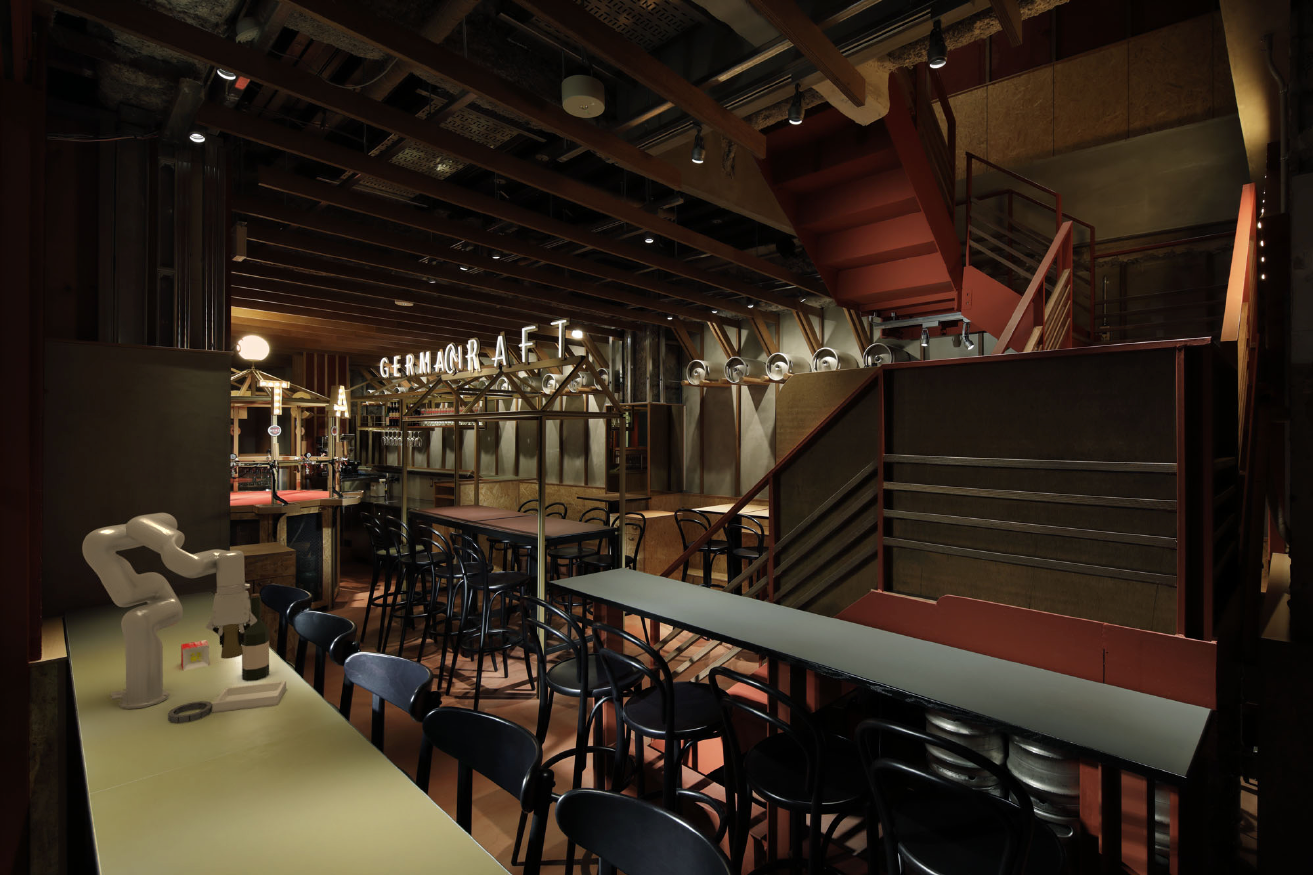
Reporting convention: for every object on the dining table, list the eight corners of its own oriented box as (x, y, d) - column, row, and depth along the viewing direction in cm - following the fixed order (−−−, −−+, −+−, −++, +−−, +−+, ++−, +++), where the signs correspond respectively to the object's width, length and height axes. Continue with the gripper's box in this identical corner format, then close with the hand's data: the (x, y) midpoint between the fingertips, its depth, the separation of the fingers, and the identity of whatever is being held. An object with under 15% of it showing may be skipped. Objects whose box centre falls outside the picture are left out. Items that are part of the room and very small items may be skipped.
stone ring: (162, 725, 191) (162, 718, 191) (176, 710, 201) (176, 704, 201) (205, 719, 194) (205, 713, 194) (216, 705, 205) (216, 699, 205)
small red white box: (183, 670, 235) (182, 649, 235) (181, 664, 241) (181, 644, 241) (209, 665, 240) (209, 644, 240) (206, 659, 246) (206, 639, 246)
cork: (246, 651, 208) (245, 618, 208) (238, 657, 202) (237, 623, 202) (226, 652, 207) (225, 619, 207) (217, 659, 201) (216, 624, 201)
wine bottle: (256, 682, 224) (255, 598, 224) (236, 680, 226) (235, 596, 225) (274, 673, 232) (274, 592, 232) (255, 671, 234) (255, 591, 233)
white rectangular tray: (212, 712, 199) (212, 703, 199) (225, 696, 212) (225, 687, 212) (277, 704, 205) (277, 695, 205) (286, 689, 217) (286, 680, 217)
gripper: (262, 583, 211) (264, 638, 211) (202, 590, 204) (204, 646, 204) (259, 588, 204) (260, 645, 205) (197, 595, 198) (198, 653, 198)
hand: (232, 644), depth 205 cm, fingers closed on cork, 3 cm apart
